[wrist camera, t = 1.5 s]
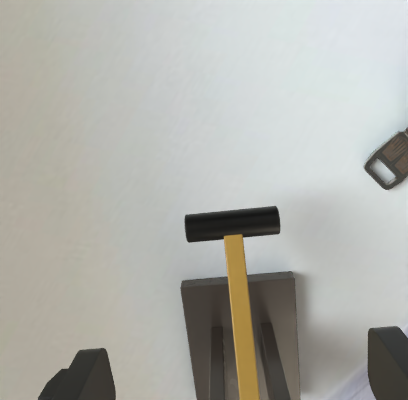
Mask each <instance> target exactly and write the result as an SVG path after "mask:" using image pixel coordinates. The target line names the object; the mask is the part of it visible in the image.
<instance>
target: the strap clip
mask: <svg viewBox="0 0 408 400" xmlns="http://www.w3.org/2000/svg"><path fill="white" fill-rule="evenodd" d="M377 157H378V158H379V159H380V160H381V162H382V163H383V164H384V165H385V166H386V167H387V168H388V169H389V170H390V171H391V172H392V173H393V174H394V175H395V176H396V177H395V178H394V179H392V180H391V181H390V182H389V183H387V184H385V183H384V182H383V181H382V180H381V179H380V178H379V177H378V176H377V175H376V174H375V173H374V172H373V171H372V170H371V169H370V165H371V164H372V162H373V161H374V160H375V159H376V158H377ZM364 169H365V171H366V172H367V173H368V174H369V175H370V176H371V177H372V178H373V179H374V180H375V181H376V182H377V183H378V184H379V185H380V186H381V187H382V188H383V189H385V190H389V189H391V188H393V187H394V186H396V185H397V184H399V183H400V182H402V181H403V180H404V179H405V178H406V177H407V176H408V127H407V128H406V130H405V131H404V132H400V131H398V132H396V133H395V134H394V135H393V136H392V137H390V138H389V139H388V140H387V141H386V142H384V143H383V144H382V145H381V146H380V147H379V148H377V149H376V150H375V151H374V152H373V153H372V154H371V155H370V157H369V158H368V159H367V161H366V162H365V164H364Z"/></svg>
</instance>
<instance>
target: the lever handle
mask: <svg viewBox="0 0 408 400" xmlns="http://www.w3.org/2000/svg"><path fill="white" fill-rule="evenodd" d="M185 233H186V238H187V241H188V242H200V241H210V240H221V239H224V244H225V254H226V264H227V274H228V284H229V295H230V305H231V315H232V325H233V335H234V346H235V356H236V366H237V376H238V387H239V397H240V400H260V394H259V384H258V375H257V366H256V356H255V347H254V338H253V328H252V319H251V309H250V300H249V291H248V281H247V272H246V263H245V253H244V244H243V237H253V236H264V235H275V234H279V233H280V217H279V212H278V208H277V207H276V206H271V207H261V208H250V209H240V210H230V211H220V212H210V213H199V214H189V215H185Z"/></svg>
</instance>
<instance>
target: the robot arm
mask: <svg viewBox="0 0 408 400" xmlns="http://www.w3.org/2000/svg"><path fill="white" fill-rule="evenodd" d="M368 378H369V382H370V386H371V389H372V392H373V394H374V396H375V398H376V400H408V338H407V337H406V335H405V334H404V333H403V332H402V330H401V329H400V328H399V327H397V326H393V327H380V328H370V329H369V332H368ZM115 399H116V392H115V385H114V381H113V376H112V372H111V368H110V363H109V359H108V354H107V351H106V349H104V348H99V349H86V350H80V351H78V353H77V354H76V356H75V358H74V360H73V362H72V363H71V365H70V367H69V369H61V370H60V371H59V372H58V373H57V374H56V375H55V376H54V377H53V378H52V379H51V380H50V381H49V382H47V384H46V386H45V387H44V389H43V391H42V392H41V394H40V396H39V397H38V400H115Z"/></svg>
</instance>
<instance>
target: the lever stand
mask: <svg viewBox="0 0 408 400" xmlns="http://www.w3.org/2000/svg"><path fill="white" fill-rule="evenodd" d="M247 281H248V291H249V300H250V309H251V319H252V328H253V338H254V347H255V356H256V366H257V375H258V384H259V394H260V400H300V380H299V360H298V339H297V319H296V298H295V278H294V276H293V274H292V272H291V271H289V272H278V273H266V274H255V275H247ZM181 295H182V302H183V308H184V315H185V322H186V329H187V335H188V342H189V349H190V356H191V363H192V369H193V376H194V383H195V390H196V397H197V400H240V397H239V387H238V376H237V366H236V356H235V346H234V335H233V325H232V315H231V305H230V295H229V284H228V277H220V278H209V279H197V280H185V281H182V283H181Z"/></svg>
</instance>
